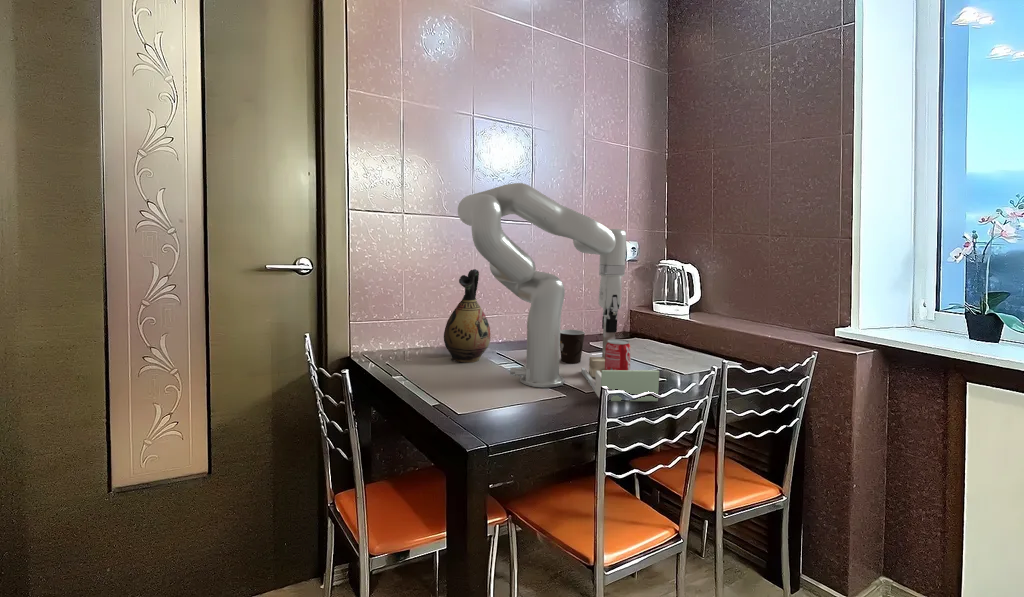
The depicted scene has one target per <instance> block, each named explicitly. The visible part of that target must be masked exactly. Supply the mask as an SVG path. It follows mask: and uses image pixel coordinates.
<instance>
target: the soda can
mask: <svg viewBox="0 0 1024 597" xmlns="http://www.w3.org/2000/svg"><path fill="white" fill-rule="evenodd" d="M607 342H608V343H607V345H606V350H605V370H631V363H632V362H631V361H632V360H631V359H632V351H631V350H632V347H631V344H630V341H629V340H627V339H621V338H620V339H619V338H615V339H611V340H608V341H607Z"/></svg>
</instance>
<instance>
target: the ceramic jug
mask: <svg viewBox="0 0 1024 597" xmlns="http://www.w3.org/2000/svg"><path fill="white" fill-rule="evenodd" d="M479 279H480V271H479V270H478V269H470V270H469V271H468V273H467V275H465V274H463V275H461V276H460V277H459V280H458V283H459V284H460V286H462V287H463V288H464V295H463V297H462V299H461V300H460V301H459V303H458V304H457V305H456V307H455V308H454V310H453V311H452V312H451V314H450V316H449V317H448V319H447V321H446V324H445V328H444V331H443V342H444V346H445V348H446V350H447V351H448V353H449V354H450V356H451V361H453V362H455V363H459V364H460V363H475V362H476V363H477V362H478V361H479V360H480V358H481V357H482V356H483V354H484V353H485V352H486V351H487V349H488V348H489V345H490V343H491V336H492V334H491V327H490V323H489V320H488V318H487V317H486V314H485V313H484V311H483V308H482V307H481V306H480V304H479V302H478V301H477V297H476V296H477V291H478V285H479Z"/></svg>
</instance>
